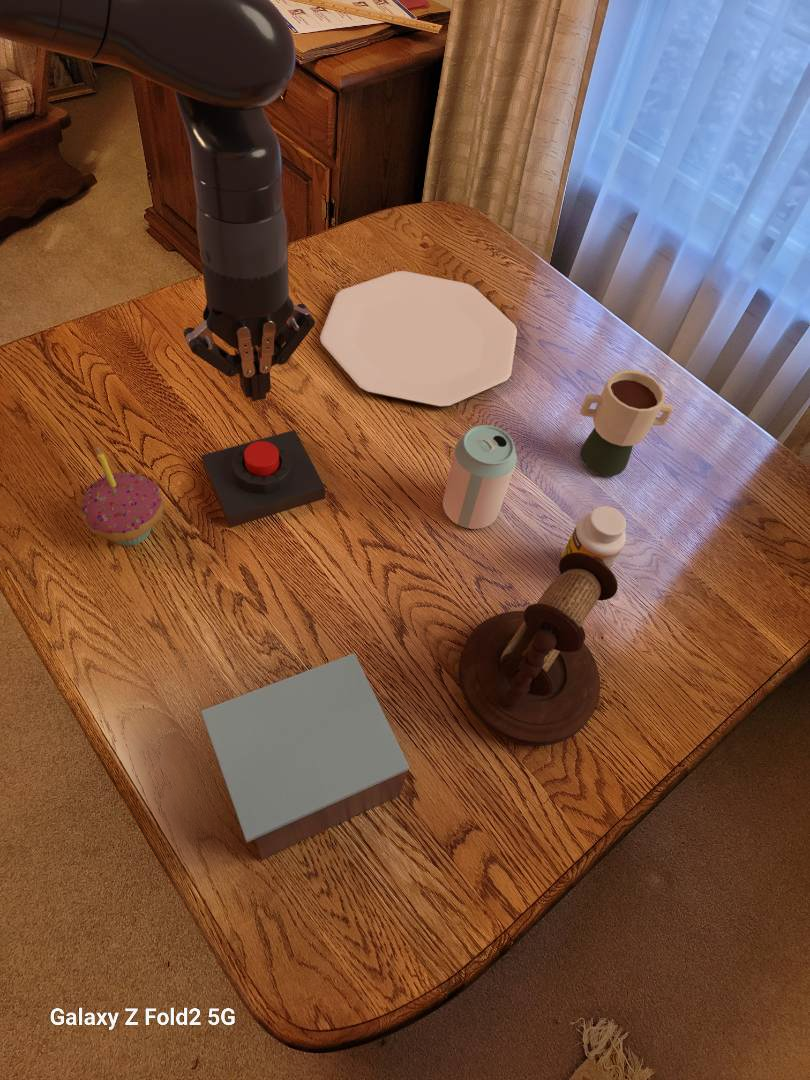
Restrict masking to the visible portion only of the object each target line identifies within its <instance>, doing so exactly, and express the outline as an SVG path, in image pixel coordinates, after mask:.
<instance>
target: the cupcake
mask: <svg viewBox="0 0 810 1080" xmlns="http://www.w3.org/2000/svg"><path fill="white" fill-rule="evenodd" d="M96 450H97V458H98V460H99V463H100V465H101V467H102V470H103V472H104V474H103V475H102V477H98V478H97V479H96V480H95V481H94V482H93V483H90V484H89V486H88V487H87V489H86V490H85V491H84V495H83V500H82V501H81V502H82V506H81V511H82V518H83V522H84V523H85V524H86V526H87V527H88V528H89V529H90V530H91V531H92V533H93V534H94V535H95V536H96V537H100V538H101V539H105V540H108V541H111V542H113V543H114V544H116V545H119V546H123V547H130V546H135V545H138V544H140V543H142V542H144V541H145V540H146V539H147V538H148V537H149V535H150V533H151V531H152V528H153V526H154V525H156V523H157V522H159V521H160V520H161V519H162V517H163V514H164V509H165V508H164V507H165V506H164V500H163V497H162V492H161V491H160V489H159V486H158V484H157V482H154V481H152V480H151V479H150V478H148V477H146V476H144V475H142V474H141V473H138V472H136V473H133V472H130V471H125V472H121V471H118V472H112V470H111V468H110V466H109V465H110V464H109V462H108V461H107V458H106V456H105V454H104V452H101V449H100V447H96Z"/></svg>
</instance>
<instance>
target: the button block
mask: <svg viewBox="0 0 810 1080" xmlns="http://www.w3.org/2000/svg"><path fill="white" fill-rule="evenodd" d="M259 441H265V442H269V443H271V444H273V445H274V446H275V447H276V448H277V449H278V452H279V467H278V469H277V470H276V471H275V472H274V473H273V474H271V475H268V476H256V475H253V474H251V473H250V472H249V471H248V470H247V469H246V466H245V459H244V452H245V450H246V448H247V447H248V446H249V445H250V444H252V443H254V442H259ZM200 457H201V461H202V467H203V469H204V471H205V474H206V476H207V479H208V482H209V483H210V486H211V489H212V491H213V493H214V496H215V498H216V500H217V502H218V504H219V505H218V506H219V507H220V509H221V512H222V514H223V516H224V519H225V521H226V523H227V526H228V529H231V528H235V527H238V526H241V525H244V524H247V523H251V522H254V521H257V520H261V519H264V518H267V517H270V516H274V515H277V514H280V513H283V512H286V511H290V510H292V509H296V508H299V507H302V506H305V505H309V504H313V503H315V502H318V501H321V500H324V499H326V486H325V484H324V482H323V480H322V478H321V476H320V475H319V473H318V470H317V469H316V467H315V465H314V463H313V461H312V460H311V458H310V456H309V454H308V452H307V450H306V448H305V446H304V444H303V443H302V440H301V439H300V437H299V435H298V432H297V431H296V430H295V429H293V430H289V431H285V432H282V433H277V434H274V435H271V436H267V437H263V438H260V439H259V438H258V439H255V440H252V441H247V442H245V443H241V444H237V445H234V446H231V447H226V448H222V449H219V450H216V451H212V452H209V453H208V452H207V453H205V454H201V456H200Z"/></svg>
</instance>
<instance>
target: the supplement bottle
mask: <svg viewBox="0 0 810 1080" xmlns="http://www.w3.org/2000/svg"><path fill="white" fill-rule="evenodd" d="M626 528H627V520H626V517H625V516H624V514H623V513H622V512H621V511H620V510H618V509H616V508H615V507H612V506H609V505H599V506H597V507H595V508H594V509H592V511H591V512H590V513H589V512H588V513H587V514H584V515H583V516H582V517H581V518H580V519H579V521H577V524H576V526H575V528H574V529H573V531H572V534H571V535H570V537H569V539H568V542H567V543H566V546H565V547H564V549H563V552H562V553H561V555H560V558H559V561H558V563H559V562H560V560H561V559H562V557H563V556H565V555H566V554H569V553H574V552H578V553H584V554H588V555H590V556H596V557H599V558H601V559H602V560H603V561H604V563H605V565H606V566H607V567H608V568H609V569H610V570H611V568H612V566H613V564H614V563H615V561H616V560H617V558H618V556H619V554H620V553H621V551H622V550H623V548H624V546H625V544H626V542H627V533H626Z"/></svg>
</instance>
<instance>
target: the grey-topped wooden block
mask: <svg viewBox="0 0 810 1080" xmlns="http://www.w3.org/2000/svg"><path fill="white" fill-rule="evenodd" d="M200 713H201V716H202V720H203V722H204V725H205V729H206V731H207V733H208V737H209V740H210V742H211V746H212V748H213V751H214V754H215V757H216V760H217V763H218V766H219V768H220V771H221V775H222V777H223V780H224V783H225V786H226V789H227V791H228V794H229V797H230V800H231V803H232V806H233V809H234V812H235V814H236V817H237V821H238V823H239V826H240V828H241V831H242V835H243V837H244V840H245V843H249V842H251V841H253V840H254V839H256V838H258V837H260V836H263V835H265V834H267V833H269V832H272V831H274V830H276V829H278V828H281V827H283V826H285V825H287V824H289V823H292V822H294V821H296V820H298V819H301V818H303V817H305V816H307V815H310V814H312V813H314V812H316V811H318V810H321V809H323V808H325V807H327V806H330V805H332V804H334V803H336V802H339V801H341V800H343V799H345V798H347V797H350V796H352V795H354V794H356V793H359V792H361V791H363V790H365V789H368V788H370V787H372V786H374V785H376V784H379V783H381V782H383V781H385V780H388V779H390V778H392V777H394V776H397V775H399V774H401V773H403V772H405V771H408V772H409V769H410V765H409V763H408V761H407V759H406V756H405V754H404V753H403V751H402V748H401V745H400V744H399V742H398V740H397V738H396V736H395V733H394V732H393V729H392V727H391V726H390V725H391V724H390V723H389V721H388V719H387V717H386V715H385V713H384V711H383V709H382V707H381V705H380V702H379V701H378V699H377V696H376V695H375V693H374V690H373V688H372V686H371V684H370V682H369V679H368V678H367V676H366V674H365V672H364V669H363V668H362V665H361V663H360V661H359V659H358V656H357V654H356V652H353V653H351V654H348V655H345V656H343V657H339V658H337V659H335V660H334V659H333V660H332V661H329V662H327V663H324V664H322V665H319V666H316V667H313V668H311V669H308V670H306V671H302V672H300V673H297V674H294V675H292V676H289V677H287V678H284V679H281V680H278V681H277V682H276V681H275V682H274V683H270V684H268V685H265V686H263V687H260V688H258V689H255V690H252V691H250V692H246V693H244V694H241V695H239V696H236V697H233V698H231V699H228V700H226V701H222V702H220V703H218V704H215V705H212V706H209V707H206V708H204V709H202V710H200ZM254 841H255V840H254Z"/></svg>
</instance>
